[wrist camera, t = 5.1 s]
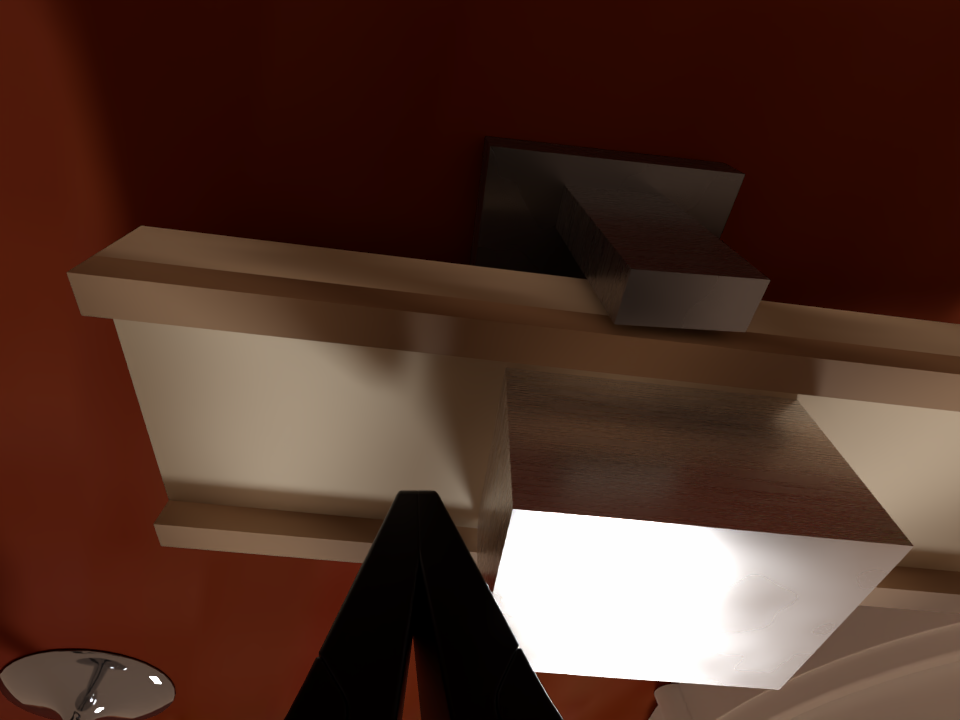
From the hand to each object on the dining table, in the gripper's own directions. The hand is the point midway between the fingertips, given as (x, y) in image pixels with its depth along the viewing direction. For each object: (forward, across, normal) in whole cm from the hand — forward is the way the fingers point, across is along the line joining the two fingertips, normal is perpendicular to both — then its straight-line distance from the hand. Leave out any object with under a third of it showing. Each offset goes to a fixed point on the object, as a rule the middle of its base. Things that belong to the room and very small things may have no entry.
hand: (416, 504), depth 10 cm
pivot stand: (+6, -4, 0) cm, 7 cm away
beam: (+3, -6, 0) cm, 7 cm away
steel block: (+1, -5, 0) cm, 5 cm away
